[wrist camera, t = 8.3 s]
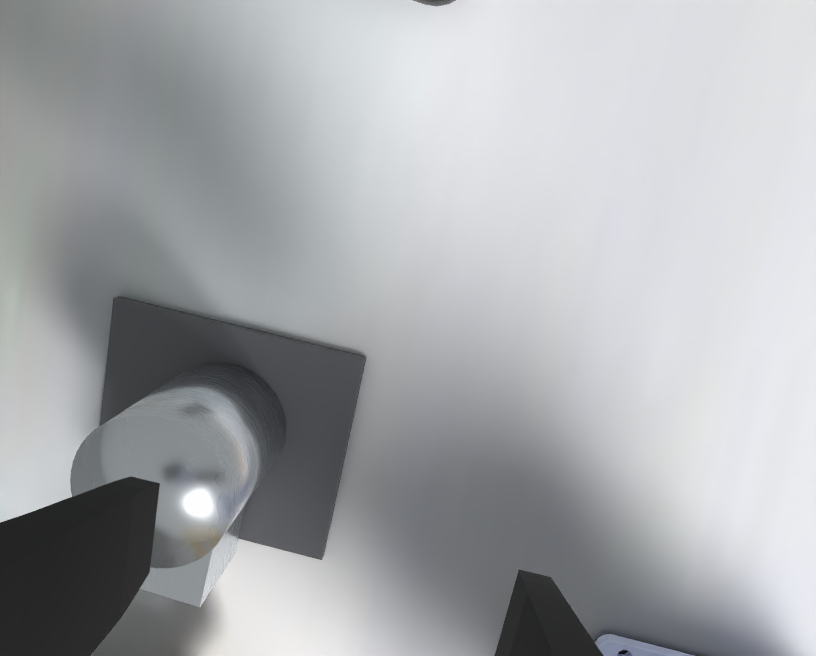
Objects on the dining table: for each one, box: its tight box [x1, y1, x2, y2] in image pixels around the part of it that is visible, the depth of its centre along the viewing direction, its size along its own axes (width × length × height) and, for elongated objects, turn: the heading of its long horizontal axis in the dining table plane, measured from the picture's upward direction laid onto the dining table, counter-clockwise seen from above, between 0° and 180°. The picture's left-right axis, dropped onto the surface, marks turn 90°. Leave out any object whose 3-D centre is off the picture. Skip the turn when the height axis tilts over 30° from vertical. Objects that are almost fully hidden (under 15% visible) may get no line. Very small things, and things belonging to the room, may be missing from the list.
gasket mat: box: [100, 297, 366, 560], centre depth 22 cm, size 9×8×1 cm
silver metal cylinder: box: [71, 361, 287, 608], centre depth 20 cm, size 5×7×5 cm, turn 165°
